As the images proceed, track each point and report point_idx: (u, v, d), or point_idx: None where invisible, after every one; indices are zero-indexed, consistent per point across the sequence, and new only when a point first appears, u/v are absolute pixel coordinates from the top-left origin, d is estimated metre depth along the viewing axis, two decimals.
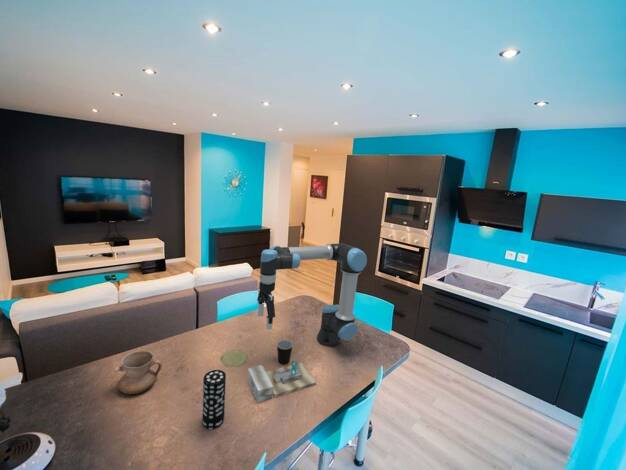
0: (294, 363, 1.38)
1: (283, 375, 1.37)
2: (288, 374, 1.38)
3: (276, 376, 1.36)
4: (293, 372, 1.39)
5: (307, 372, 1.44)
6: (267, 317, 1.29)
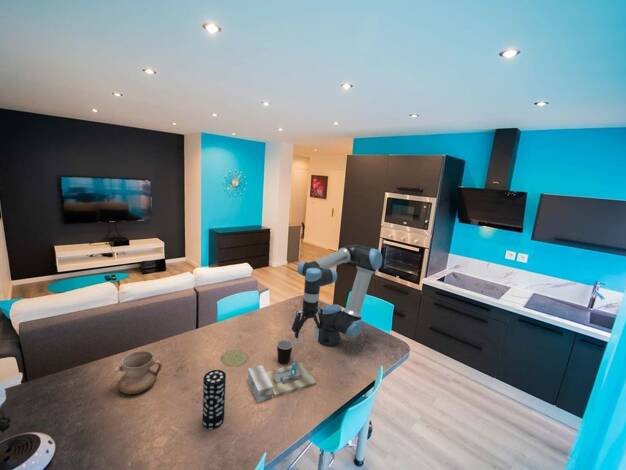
0: (294, 363, 1.38)
1: (283, 375, 1.37)
2: (288, 374, 1.38)
3: (276, 376, 1.36)
4: (293, 372, 1.39)
5: (307, 372, 1.44)
6: None
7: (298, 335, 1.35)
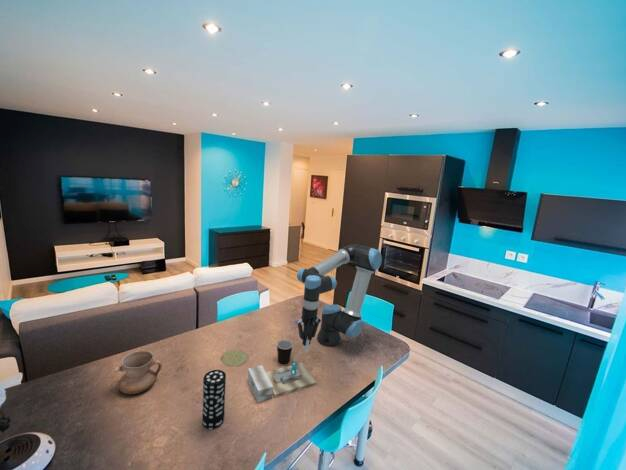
0: (294, 363, 1.38)
1: (283, 375, 1.37)
2: (288, 374, 1.38)
3: (276, 376, 1.36)
4: (293, 372, 1.39)
5: (307, 372, 1.44)
6: None
7: (306, 343, 1.38)
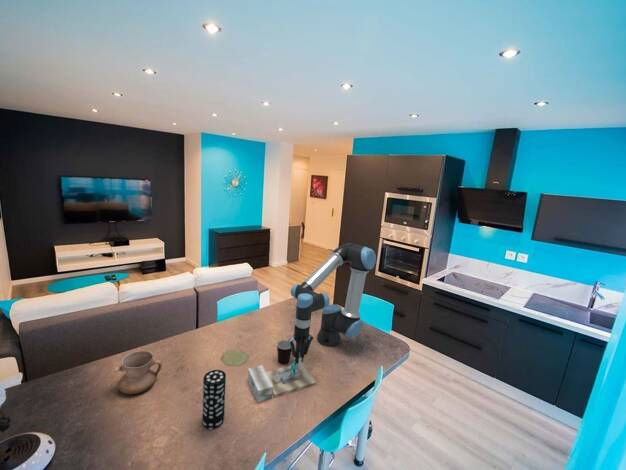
0: (293, 363, 1.38)
1: (282, 375, 1.37)
2: (287, 374, 1.38)
3: (275, 376, 1.35)
4: (292, 372, 1.38)
5: (307, 372, 1.44)
6: None
7: (298, 360, 1.38)
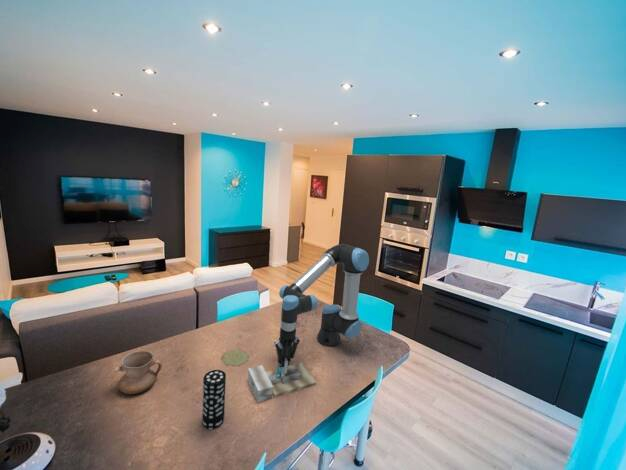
0: (279, 367, 1.35)
1: None
2: (273, 378, 1.34)
3: None
4: (278, 376, 1.35)
5: (307, 372, 1.44)
6: None
7: (284, 364, 1.35)
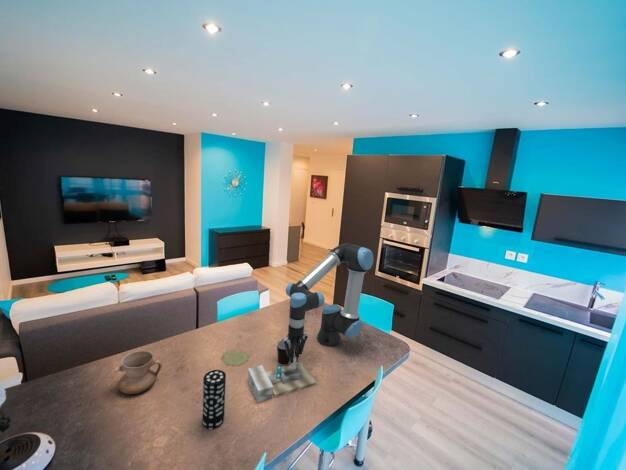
0: (279, 367, 1.35)
1: None
2: (273, 378, 1.34)
3: None
4: (278, 376, 1.35)
5: (307, 372, 1.44)
6: None
7: (293, 360, 1.37)
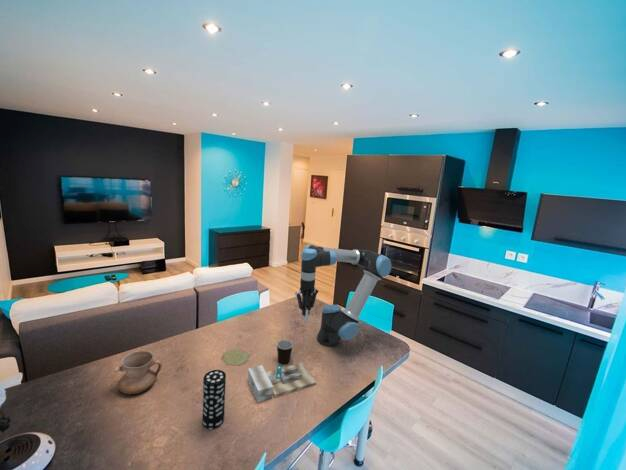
0: (279, 367, 1.35)
1: None
2: (273, 378, 1.34)
3: None
4: (278, 376, 1.35)
5: (307, 372, 1.44)
6: None
7: (305, 313, 1.46)
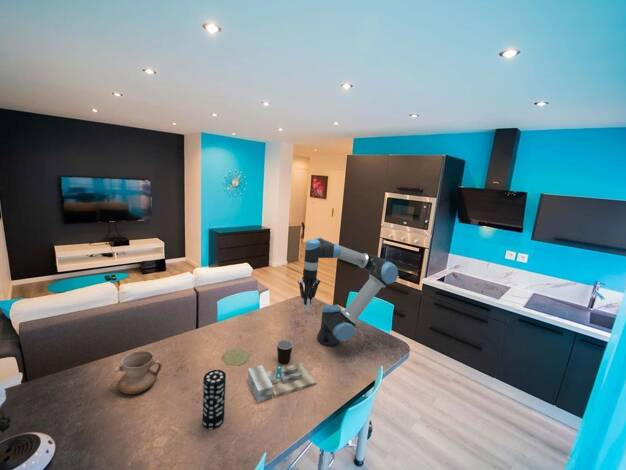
0: (279, 367, 1.35)
1: None
2: (273, 378, 1.34)
3: None
4: (278, 376, 1.35)
5: (307, 372, 1.44)
6: None
7: (307, 302, 1.51)
